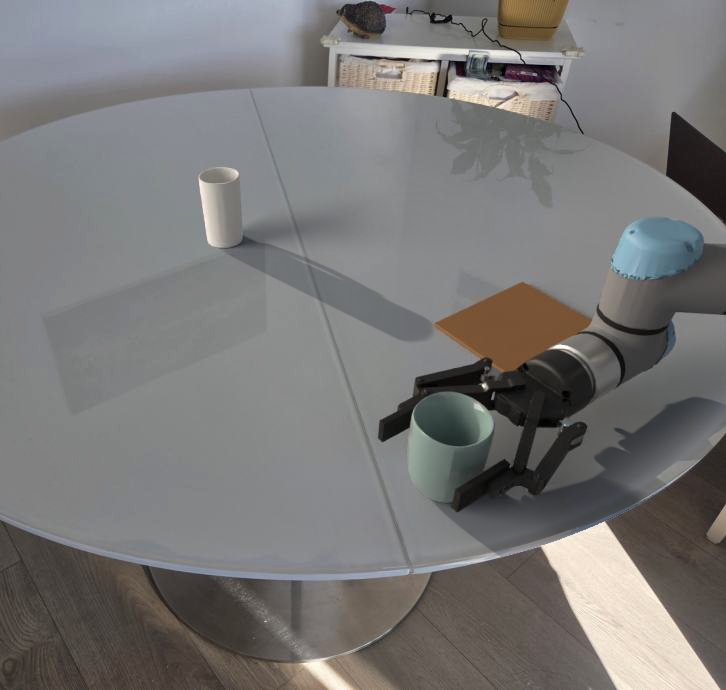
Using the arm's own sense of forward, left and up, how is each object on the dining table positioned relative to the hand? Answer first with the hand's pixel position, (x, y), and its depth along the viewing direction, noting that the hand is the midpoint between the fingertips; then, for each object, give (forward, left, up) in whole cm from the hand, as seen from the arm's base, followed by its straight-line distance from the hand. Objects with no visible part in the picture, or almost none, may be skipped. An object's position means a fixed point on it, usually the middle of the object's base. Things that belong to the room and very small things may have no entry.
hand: (416, 464), depth 63 cm
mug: (+62, -12, -6) cm, 64 cm away
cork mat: (+12, -32, -6) cm, 35 cm away
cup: (0, -4, -6) cm, 8 cm away
